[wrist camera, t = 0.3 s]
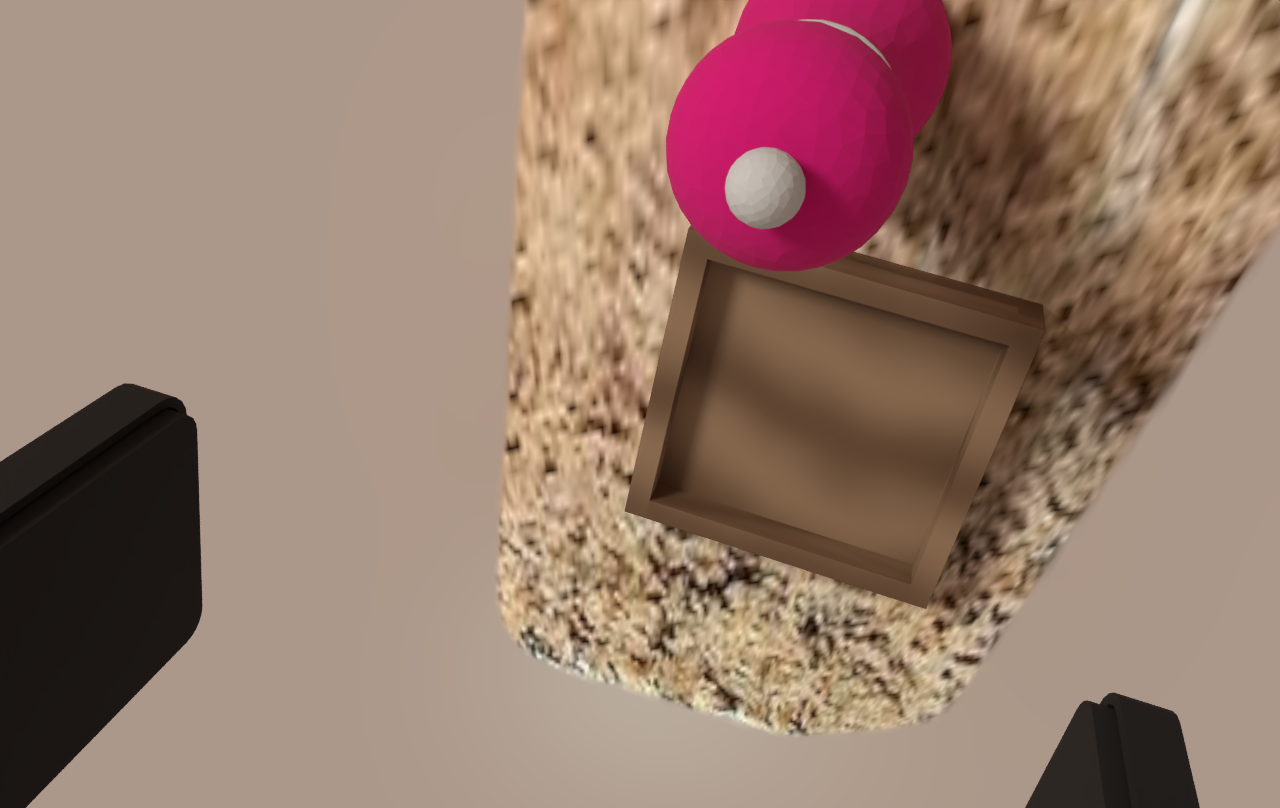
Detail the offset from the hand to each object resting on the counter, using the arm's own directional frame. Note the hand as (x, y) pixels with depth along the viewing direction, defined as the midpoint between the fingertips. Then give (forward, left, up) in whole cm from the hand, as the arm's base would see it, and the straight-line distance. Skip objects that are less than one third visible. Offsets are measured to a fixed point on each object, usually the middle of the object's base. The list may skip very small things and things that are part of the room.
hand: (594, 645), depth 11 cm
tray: (+15, +2, -34) cm, 37 cm away
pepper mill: (0, -1, -34) cm, 34 cm away
